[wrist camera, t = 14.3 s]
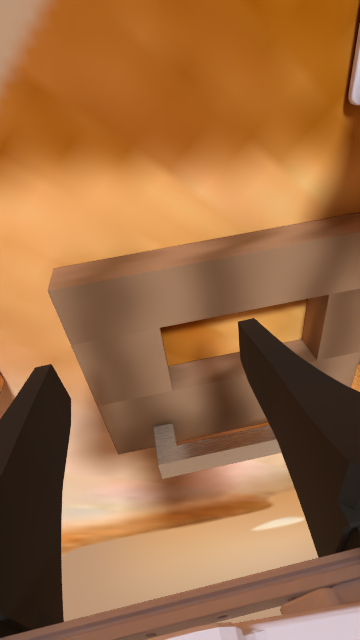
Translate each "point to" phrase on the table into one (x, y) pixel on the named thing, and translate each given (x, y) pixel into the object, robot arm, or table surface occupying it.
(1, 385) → the small box
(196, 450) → the bar
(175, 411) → the puzzle board
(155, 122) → the table surface
